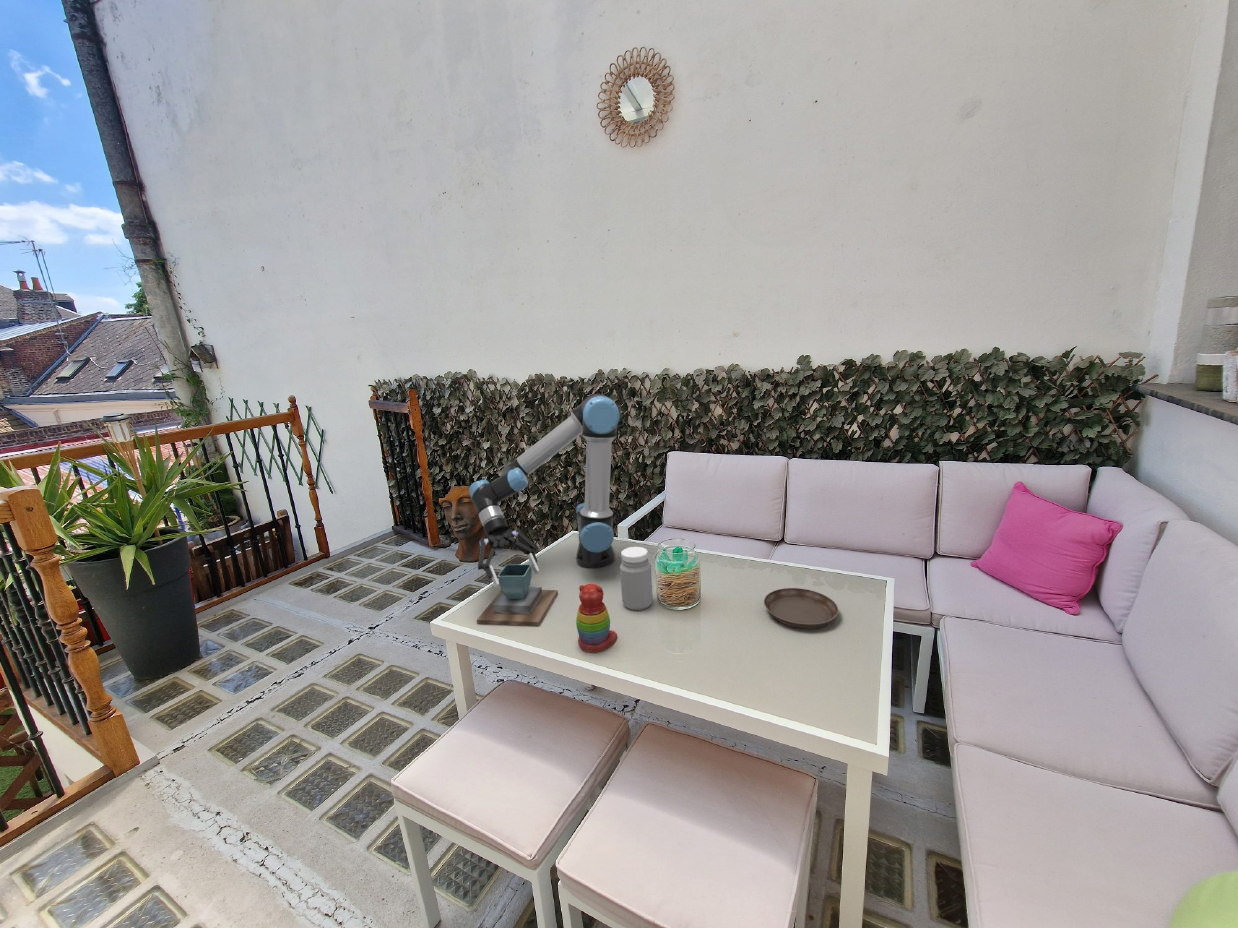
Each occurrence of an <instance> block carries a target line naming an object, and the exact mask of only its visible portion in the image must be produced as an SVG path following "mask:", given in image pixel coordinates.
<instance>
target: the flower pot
mask: <svg viewBox="0 0 1238 928" xmlns="http://www.w3.org/2000/svg"><path fill="white" fill-rule="evenodd" d="M497 579H498V582H499V587H500V591H501V590H502V592H503V594H504V595H505V596H506V597H507V598H508V599H523V598H524V596H525V595H526V593H527V591H528V589H529V587H531V586H530V585H531V583H532V582H531V580H532V566H531V564H529V563H528V564H527V563H525V564H524V563H523V564H520V563H519V564H516V563H515V564H513V563H512V564H505V565H504V567H503V568H502V569H501V570H500V572H499V573H498V575H497Z"/></svg>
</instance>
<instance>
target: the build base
mask: <svg viewBox="0 0 1238 928" xmlns="http://www.w3.org/2000/svg"><path fill="white" fill-rule="evenodd" d="M558 595H559V592H558V590H557V589H543V588H542V586H541V587H539V586H537V587H536V586H529V589H528V591H527V593H526V595H525V596H524V598H523V599H508V598H507V597H506V596H505V595H504V594H503V592H502V590H501V589H500V591H499V592H498V593H497V594H496V596H495V597H494V598H493V600H491V602H490V603H489V604H488V605H487V607H485V609H484V610H483V612H481V614H480V615H479V616H478V617H477V619H476V624H477V625H484V626H485V625H490V626H515V627H516V626H517V627H518V626H519V627H540V626H541V624H542V623H543V620H544V619H545V617H546V616H547V614H548V612H549V610H550V608H551V607H552V605H553V604H554V602H555V600H556V598H557V597H558Z"/></svg>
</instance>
